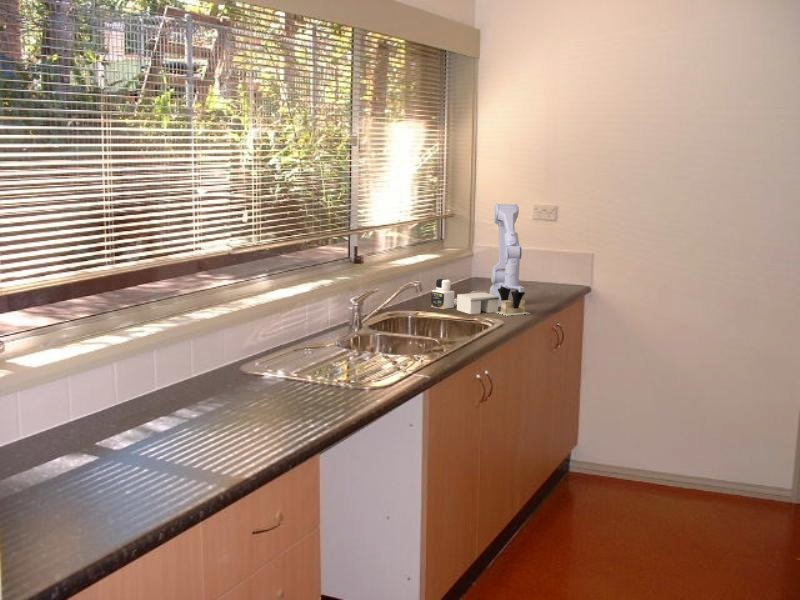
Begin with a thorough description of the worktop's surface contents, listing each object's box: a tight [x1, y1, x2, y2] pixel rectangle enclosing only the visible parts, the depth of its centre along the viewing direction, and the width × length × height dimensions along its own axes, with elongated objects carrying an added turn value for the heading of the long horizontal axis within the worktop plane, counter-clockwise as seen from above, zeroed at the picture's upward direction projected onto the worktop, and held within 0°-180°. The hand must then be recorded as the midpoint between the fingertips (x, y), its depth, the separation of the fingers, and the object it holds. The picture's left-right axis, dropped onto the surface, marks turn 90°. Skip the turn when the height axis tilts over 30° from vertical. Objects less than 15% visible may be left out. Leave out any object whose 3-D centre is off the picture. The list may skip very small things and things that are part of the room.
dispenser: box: [456, 292, 499, 315], centre depth 397 cm, size 10×14×7 cm
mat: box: [494, 310, 531, 317], centre depth 395 cm, size 8×12×1 cm, turn 121°
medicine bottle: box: [430, 278, 455, 310], centre depth 403 cm, size 7×7×12 cm
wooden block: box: [500, 299, 526, 314], centre depth 394 cm, size 10×3×5 cm, turn 121°
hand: (510, 306), depth 394 cm, fingers open, 7 cm apart
